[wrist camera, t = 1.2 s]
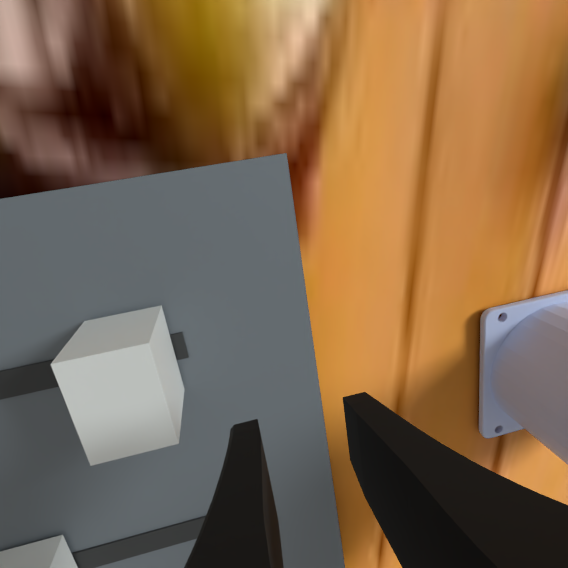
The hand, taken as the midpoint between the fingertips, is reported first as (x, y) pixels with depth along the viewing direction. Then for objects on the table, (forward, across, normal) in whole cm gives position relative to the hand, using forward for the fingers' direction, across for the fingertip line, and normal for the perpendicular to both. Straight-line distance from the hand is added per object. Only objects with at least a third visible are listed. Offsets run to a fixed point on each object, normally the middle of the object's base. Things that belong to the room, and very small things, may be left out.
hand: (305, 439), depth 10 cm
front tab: (+7, +5, 0) cm, 9 cm away
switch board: (+8, +8, +5) cm, 13 cm away
